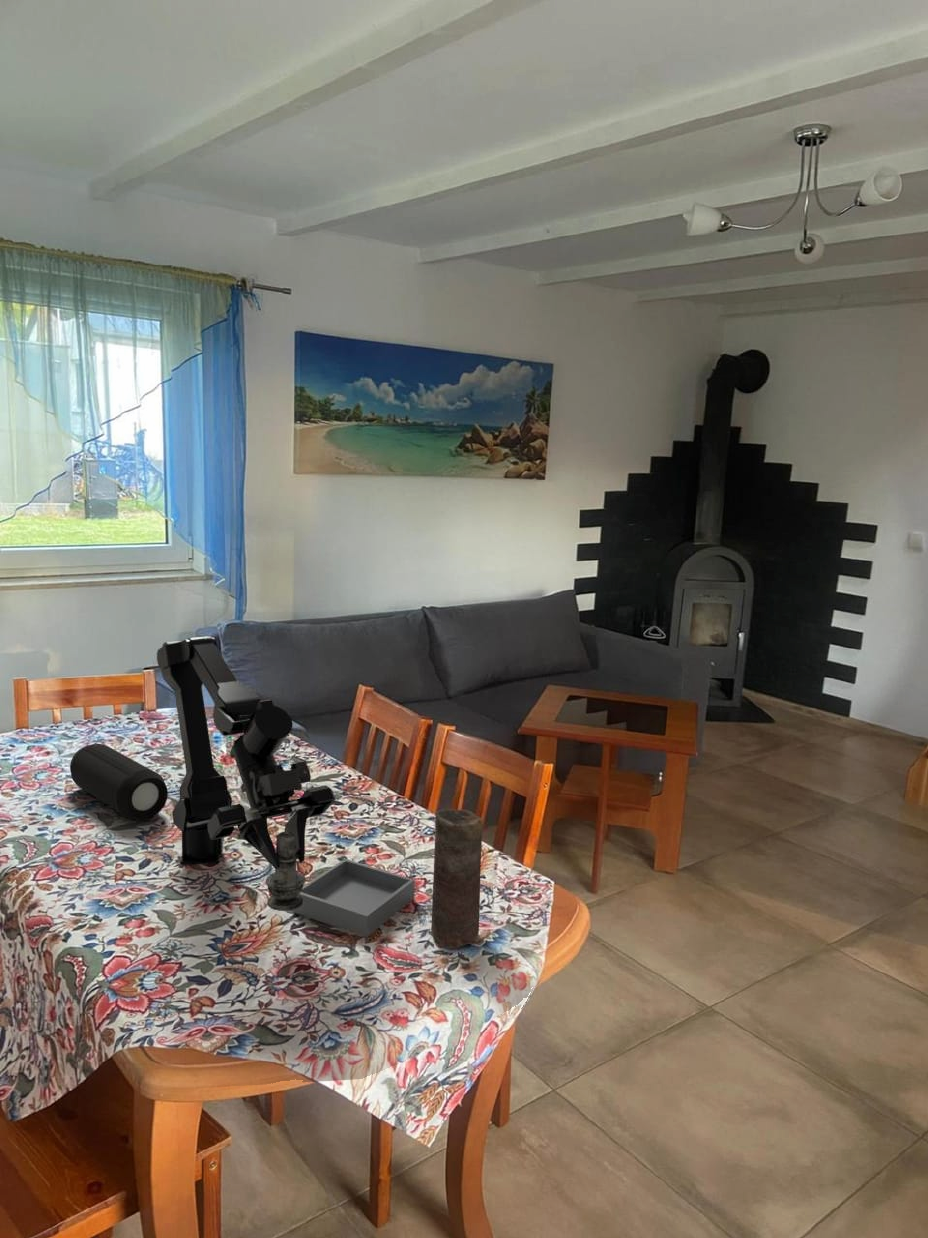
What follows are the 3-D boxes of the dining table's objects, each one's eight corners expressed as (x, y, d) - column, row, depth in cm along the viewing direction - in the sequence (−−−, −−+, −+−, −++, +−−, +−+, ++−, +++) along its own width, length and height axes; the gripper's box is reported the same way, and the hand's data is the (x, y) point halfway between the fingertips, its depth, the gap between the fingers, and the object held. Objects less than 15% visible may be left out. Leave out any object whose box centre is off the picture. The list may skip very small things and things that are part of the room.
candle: (429, 924, 142) (434, 804, 138) (475, 924, 142) (481, 805, 139) (431, 951, 134) (437, 825, 130) (480, 950, 135) (487, 825, 131)
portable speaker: (172, 816, 178) (171, 768, 176) (124, 830, 171) (123, 780, 169) (112, 780, 195) (110, 736, 193) (66, 791, 188) (64, 746, 186)
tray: (293, 912, 143) (293, 892, 143) (344, 877, 156) (345, 858, 155) (366, 937, 137) (367, 916, 136) (414, 899, 149) (414, 879, 149)
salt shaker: (296, 914, 131) (298, 837, 129) (258, 908, 132) (259, 832, 130) (310, 895, 137) (312, 821, 134) (274, 890, 138) (275, 816, 135)
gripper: (214, 756, 127) (247, 859, 121) (331, 735, 138) (366, 828, 132) (194, 790, 135) (223, 888, 128) (306, 768, 146) (338, 857, 140)
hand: (290, 864), depth 132 cm, fingers closed on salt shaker, 4 cm apart
